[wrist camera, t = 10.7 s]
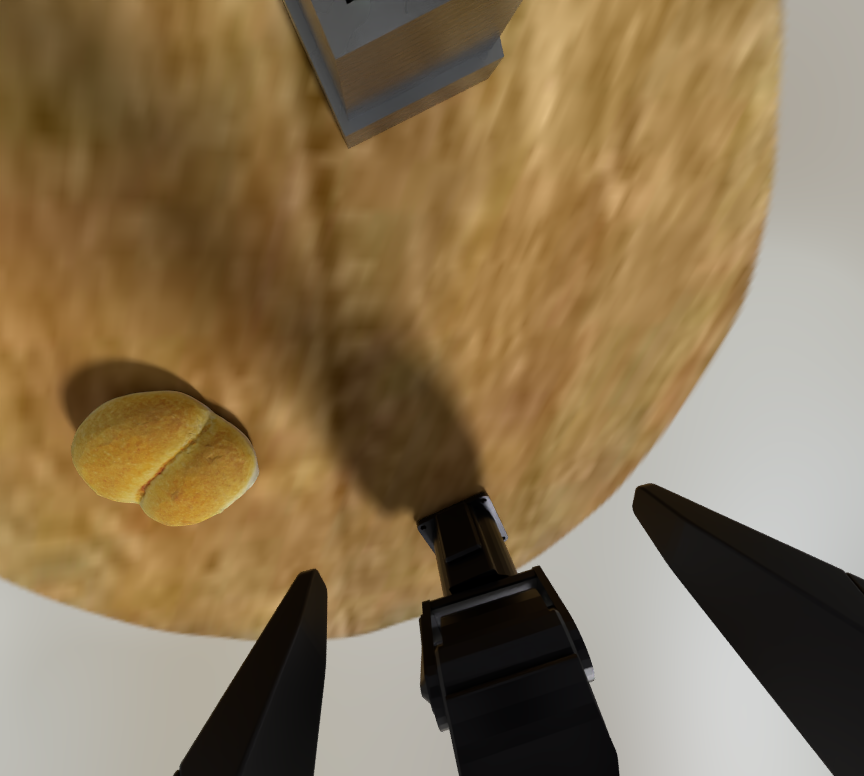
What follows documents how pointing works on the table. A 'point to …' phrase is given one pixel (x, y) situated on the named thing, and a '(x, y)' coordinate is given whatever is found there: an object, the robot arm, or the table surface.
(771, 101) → the table surface
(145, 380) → the table surface
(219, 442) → the bread roll
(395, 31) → the dark grey box
